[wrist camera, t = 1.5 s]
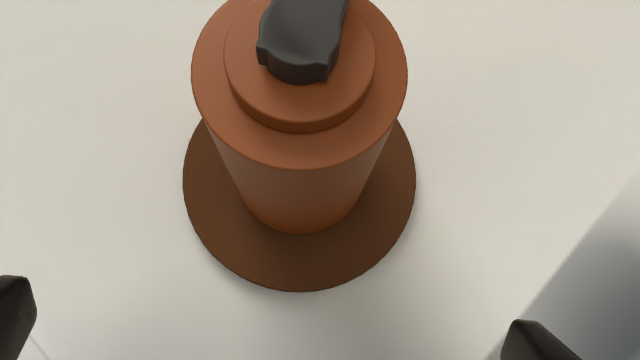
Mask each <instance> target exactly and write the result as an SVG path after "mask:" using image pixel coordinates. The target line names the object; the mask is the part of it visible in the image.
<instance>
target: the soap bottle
mask: <svg viewBox="0 0 640 360" xmlns="http://www.w3.org/2000/svg"><path fill="white" fill-rule="evenodd" d="M407 83H408V69H407V62H406V56H405V53H404V49H403V46H402V43H401V41H400V39H399V37H398V34H397V32H396V31H395V29H394V28H393V26H392V24H391V23H390V21H389V20H388V19H387V18H386V17H385V15H384V14H383V13H382V12H381V11H380V10H379V9H378V8H377V7H376V6H375V5H374V4H373V3H371V2H370V1H368V0H228V1H227V2H226V3H225V4H223V5H222V6H221V7H220V8H219V9H218V10H217V11H216V12H215V13H214V14H213V16H212V17H211V18H210V19H209V21H208V22H207V24H206V25H205V27H204V28H203V30H202V32H201V34H200V36H199V38H198V40H197V43H196V46H195V49H194V52H193V57H192V63H191V84H192V91H193V95H194V98H195V102H196V105H197V107H198V109H199V112H200V114H201V116H202V118H203V120H204V122H205V124H206V126H207V128H208V130H209V132H210V134H211V136H212V138H213V141H214V143H215V145H216V147H217V149H218V151H219V153H220V155H221V157H222V159H223V161H224V163H225V165H226V167H227V169H228V171H229V173H230V175H231V178H232V180H233V182H234V184H235V186H236V188H237V190H238V192H239V194H240V196H241V198H242V200H243V202H244V204H245V205H246V207H247V208H248V210H249V211H250V212H251V213H252V214H253V216H255V217H256V218H257V219H258V220H259V221H260V222H262V223H263V224H265V225H266V226H268V227H270V228H272V229H274V230H277V231H280V232H283V233H288V234H296V235H304V234H312V233H317V232H320V231H323V230H326V229H328V228H330V227H332V226H334V225H335V224H337V223H338V222H340V221H341V220H342V219H343V218H344V217H346V216H347V215H348V213H349V212H350V211H351V210H352V209H353V207H354V205H355V204H356V202H357V200H358V198H359V196H360V194H361V192H362V190H363V188H364V186H365V184H366V181H367V179H368V177H369V175H370V173H371V171H372V169H373V167H374V165H375V163H376V161H377V158H378V156H379V154H380V152H381V150H382V148H383V146H384V144H385V142H386V140H387V138H388V135H389V133H390V131H391V129H392V127H393V125H394V123H395V121H396V119H397V117H398V114H399V112H400V110H401V108H402V105H403V102H404V99H405V95H406V89H407Z"/></svg>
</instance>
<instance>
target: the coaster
mask: <svg viewBox="0 0 640 360" xmlns="http://www.w3.org/2000/svg"><path fill="white" fill-rule="evenodd" d="M415 189H416V171H415V164H414V158H413V154H412V151H411V147H410V144H409V141H408V139H407V137H406V134H405V132H404V130H403V129H402V127H401V125H400V123H399V122H398V120H397V119H396V121H395V123H394V125H393V127H392V129H391V131H390V133H389V135H388V138H387V140H386V142H385V144H384V146H383V148H382V150H381V152H380V154H379V156H378V158H377V161H376V163H375V165H374V167H373V169H372V171H371V173H370V175H369V177H368V179H367V181H366V184H365V186H364V188H363V190H362V192H361V194H360V196H359V198H358V200H357V202H356V204H355V205H354V207H353V209H352V210H351V211H350V212H349V213H348V215H347V216H346V217H344V218H343V219H342V220H341V221H340V222H338V223H337V224H335V225H334V226H332V227H330V228H328V229H326V230H323V231H320V232H317V233H312V234H304V235H296V234H288V233H283V232H280V231H277V230H274V229H272V228H270V227H268V226H266V225H265V224H263V223H262V222H260V221H259V220H258V219H257V218H256V217H255V216H253V214H252V213H251V212H250V211H249V210H248V208H247V207H246V205H245V204H244V202H243V200H242V198H241V196H240V194H239V192H238V190H237V188H236V186H235V184H234V182H233V180H232V178H231V175H230V173H229V171H228V169H227V167H226V165H225V163H224V161H223V159H222V157H221V155H220V153H219V151H218V149H217V147H216V145H215V143H214V141H213V138H212V136H211V134H210V132H209V130H208V128H207V126H206V124H205V122H204V120H203V118H202V119H201V121H200V123H199V124H198V126H197V127H196V129H195V131H194V133H193V135H192V138H191V140H190V142H189V145H188V149H187V152H186V155H185V160H184V167H183V193H184V201H185V205H186V208H187V212H188V215H189V218H190V220H191V223H192V225H193V227H194V229H195V231H196V233H197V234H198V236H199V238H200V239H201V241H202V243H203V244H204V245H205V246H206V248H207V249H208V250H209V251H210V252H211V254H212V255H213V256H214V257H215V258H216V259H218V260H219V261H220V262H221V263H222V264H223V265H224V266H225V267H227V268H228V269H230V270H231V271H233V272H234V273H236V274H237V275H238V276H240V277H242V278H244V279H246V280H248V281H250V282H252V283H254V284H257V285H260V286H263V287H266V288H270V289H275V290H280V291H287V292H311V291H319V290H324V289H328V288H333V287H335V286H338V285H341V284H344V283H346V282H348V281H350V280H352V279H354V278H356V277H358V276H360V275H362V274H363V273H364V272H366V271H367V270H369V269H370V268H372V267H373V266H374V265H375V264H377V263H378V262H379V261H380V260H381V259H382V258H383V257H384V256H385V255H386V254H387V253H388V252H389V250H390V249H391V248H392V247H393V246H394V244H395V243H396V242H397V240H398V238H399V237H400V235H401V233H402V232H403V230H404V228H405V226H406V223H407V221H408V219H409V217H410V213H411V210H412V206H413V203H414V196H415Z"/></svg>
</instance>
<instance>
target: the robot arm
mask: <svg viewBox="0 0 640 360" xmlns="http://www.w3.org/2000/svg"><path fill="white" fill-rule="evenodd" d="M36 317H37V308H36V304H35V300H34V297H33V293H32V289H31V286H30V282H29V280H28V279H27V278H26V277H23V276H12V275H2V276H0V360H17V359H18V356H19V354H20V352H21V350H22V348H23V346H24V344H25V342H26V340H27V338H28V336H29V334H30V332H31V330H32V328H33V326H34V323H35V321H36ZM500 358H501V360H581V359H580V358H579V357H578V356H577V355H576V354H575V353H574V352H572V351H571V350H570V349H569V348H568V347H567V346H565V345H564V344H563V343H562V342H561V341H560V340H559V339H557V338H556V337H555V336H554V335H553V334H552V333H550V332H549V331H548V330H547V329H546V328H544V327H543V326H542V325H541V324H540V323H538V322H536V321H532V320H521V319H517V320H514V321H513V322H512V323H511V325H510V328H509V331H508V333H507V336H506V338H505V341H504V344H503V346H502V349H501V355H500Z"/></svg>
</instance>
